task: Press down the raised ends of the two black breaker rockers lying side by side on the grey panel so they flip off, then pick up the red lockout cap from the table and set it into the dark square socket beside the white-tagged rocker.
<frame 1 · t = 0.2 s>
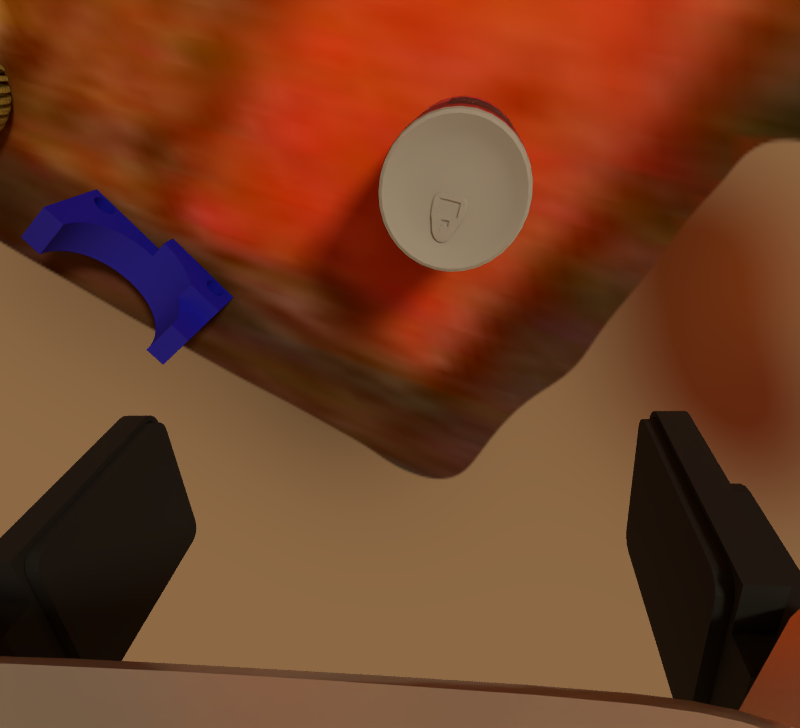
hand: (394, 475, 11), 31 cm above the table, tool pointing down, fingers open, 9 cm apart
canned food: (460, 161, 38), on the table
blue pipe cradle: (158, 256, 44), on the table
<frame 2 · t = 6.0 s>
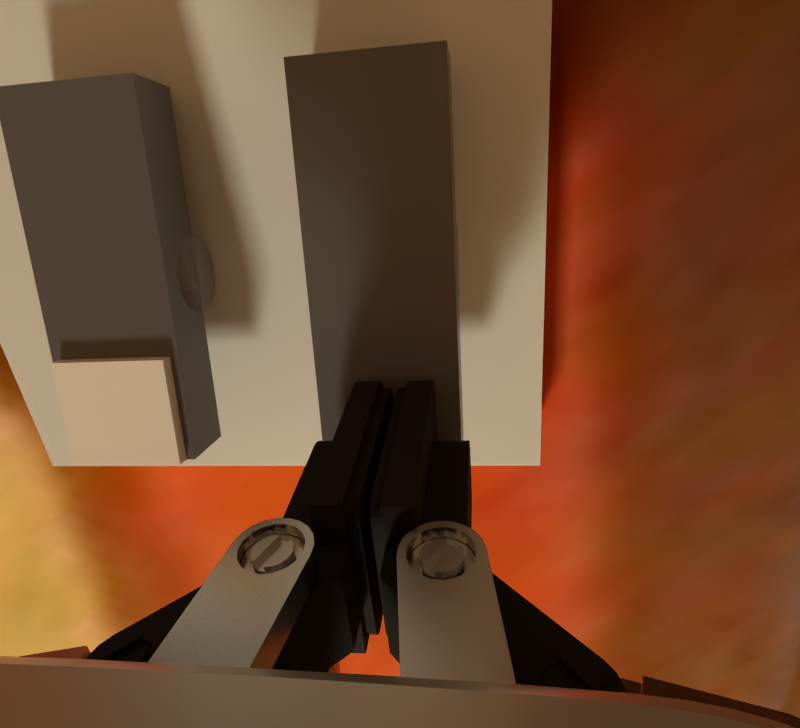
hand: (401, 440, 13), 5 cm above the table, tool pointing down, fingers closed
plain rocker: (387, 266, 13), point 3 cm above the table, hinge at 11.8°, touching gripper
tagged rocker: (127, 279, 13), point 4 cm above the table, hinge at 12.0°
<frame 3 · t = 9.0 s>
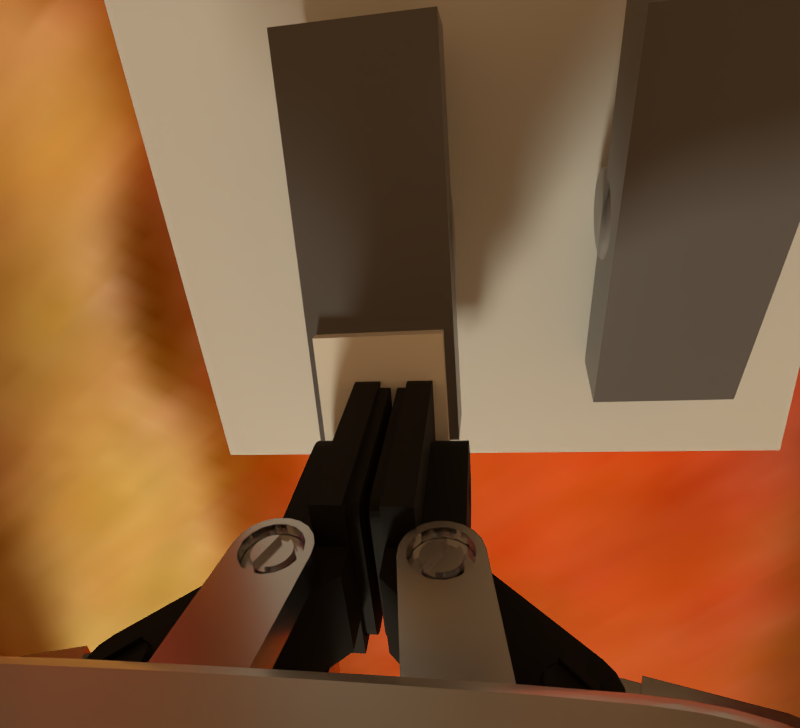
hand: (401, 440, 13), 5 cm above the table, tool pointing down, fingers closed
plain rocker: (684, 215, 11), point 3 cm above the table, hinge at -15.7°
tagged rocker: (380, 245, 12), point 4 cm above the table, hinge at 9.0°, touching gripper
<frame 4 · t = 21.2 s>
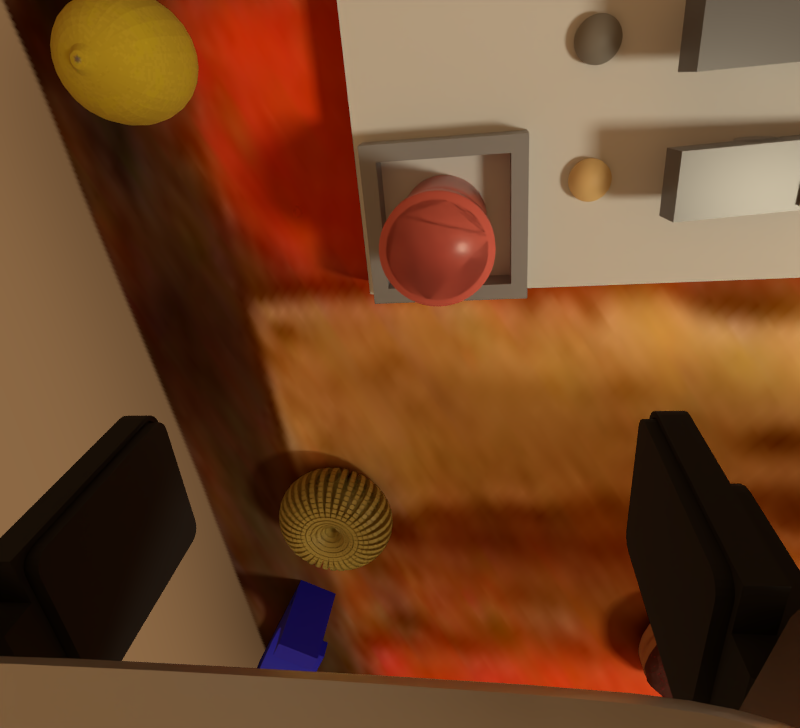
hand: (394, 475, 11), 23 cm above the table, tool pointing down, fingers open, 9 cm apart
lemon: (172, 60, 30), on the table
plain rocker: (780, 21, 24), point 3 cm above the table, hinge at -13.6°
tagged rocker: (755, 175, 26), point 4 cm above the table, hinge at -10.0°
donut: (700, 633, 45), on the table
sculpture: (342, 498, 43), on the table
lockout cap: (444, 218, 30), point 2 cm above the table, touching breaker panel
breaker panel: (605, 129, 29), on the table
blue pipe cradle: (304, 629, 50), on the table
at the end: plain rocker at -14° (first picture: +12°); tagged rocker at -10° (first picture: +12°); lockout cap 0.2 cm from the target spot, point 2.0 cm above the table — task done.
